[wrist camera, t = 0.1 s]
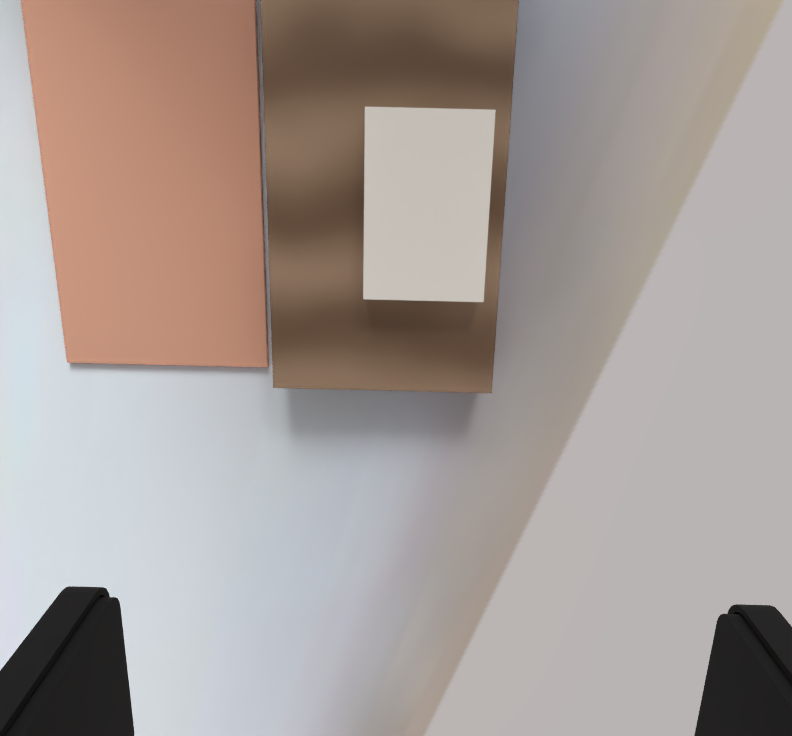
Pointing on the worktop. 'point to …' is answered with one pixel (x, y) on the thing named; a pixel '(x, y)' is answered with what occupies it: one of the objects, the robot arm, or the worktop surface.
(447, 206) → the ceramic tile
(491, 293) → the walnut block
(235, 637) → the worktop surface
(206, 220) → the rubber mat
